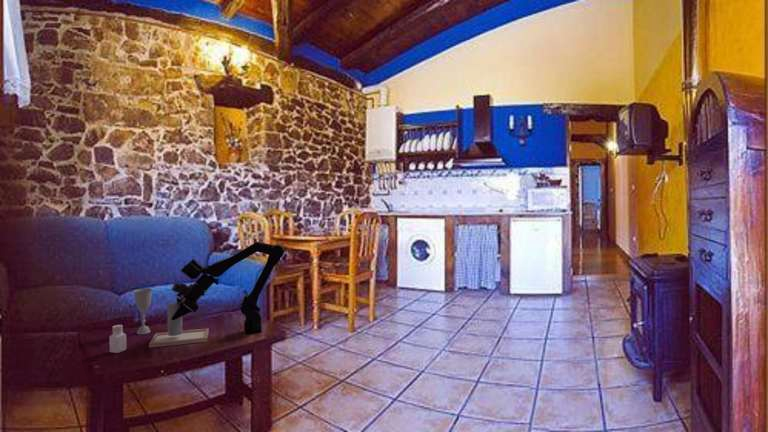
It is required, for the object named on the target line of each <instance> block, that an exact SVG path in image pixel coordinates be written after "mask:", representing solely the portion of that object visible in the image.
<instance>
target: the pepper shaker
mask: <svg viewBox="0 0 768 432" xmlns="http://www.w3.org/2000/svg"><path fill="white" fill-rule="evenodd" d="M123 326H124V325H122V324H116V325H113V326H112V334H110V336H109V339H108V340H109V352H110V353H113V354H119V353H121V352H124V351H126V350H127V334H126V333H124V331H123V330H124V328H123Z"/></svg>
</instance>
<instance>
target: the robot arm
mask: <svg viewBox="0 0 768 432" xmlns="http://www.w3.org/2000/svg"><path fill="white" fill-rule="evenodd" d="M256 253H261V254H265V255H268V257H267V260H266V263H265V265H264V266H263V269H262V270H261V272H260V274H259V276H258V278H257V280H256V281H255V283H254V286H253V288H252V290H251V292H249V293H247V292H246V293H245V294H244V297H243V299H242V300H241V302H240V304H239V305H240V312H241V314H243V315H244V316H245V320H243V327H244V329H243V330H244V332H245V334H246V335H247V334H256V333H257V334H258V333H262V331H263V330H262V315H261V311H262V309H261V308H260V307H259V306H258V305H257V304H258V301H259V297H260V294H261V292H262V290H263V289H264V287H265V285H266V283H267V281H268V279H269V278H270V276H271V273H272V272H273V269H274V268H275V266H276V265H277V264H278V263H279V262H280V260H281V259H282V257H283V256H284V254H285V249H284V246H283V245H282V244H280V243H277V244H271V243H266V242H265V243H264V242H261V241H255V242H254V243H252V244H250V245H249V246H247V247H245V248H244V249H242V250H239V251H238V252H236V253H234V254H233V255H231V256H230V257H227V258H223V259H220V260H218V261H214V262H213V263H212V264H210V265H206V266H202V265H201V264H200V263H199V262H198V261H197V260H196V259H194V258H192V259H191V260H190V261H189V262H188V263H187V264H185V265H184V266H183V268H182V269H180V272H181V273H182V274H184V275H185V276H186V277H187V278H188V279H190V280H195V282H194V283H191V284H190V285H187V283H183V282H181V283H180V282H177V281H174V284H173V285H172V288H171V290H172V292H174V293H176V294H175V296H176V298H175V299H176V300H175V301H176V302H179V303H180V306H179V308H178V309H177V311H176V312H175V314H174V315H173V316H172V318H171V319H172V320H175V319H177V318H179V317H181V316H182V317H183V316H186V315H188V314H190V313H192V312H193V313H196V312H197V311H198V310H199V309H200V308H199V304H198V301H199V300H200V298H201V297H204V296H205V295H206V292H207V291H208V290H209V289H210V288H211V287H212V286H213V285H214V284H215V285H216V286H219V280H220V278H218V277H221V276H223V274H225V273H226V272H227V271H228V270H230V268H232V267H233V266H234V265H236V264H238V263H240V262H242V261H243V260H246V259H247V258H248V257H250V256H252V255H253V254H256ZM201 274H202V275H201ZM208 275H209V276H208Z"/></svg>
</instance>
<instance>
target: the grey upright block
mask: <svg viewBox="0 0 768 432" xmlns="http://www.w3.org/2000/svg"><path fill="white" fill-rule="evenodd" d="M166 306H167V308H166V311H167V332H168V335H169V336H176V335H180V334H182V333H183V331H184V330H183V316H181V317H179V318H177V319H175V320H172V319H171V318H172V316H173V315H174V314H175V312H176V311H177V309H178V308H179V306H180V303H179V302H177V301H176V302H170V303H167V305H166Z"/></svg>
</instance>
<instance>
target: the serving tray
mask: <svg viewBox="0 0 768 432" xmlns="http://www.w3.org/2000/svg"><path fill="white" fill-rule="evenodd" d="M209 332H210V328H209V327H207V328H200V329H199V328H198V329H187V330H183V333H182V334H180V335H176V336H169V335H168V331H166V332H156V333H155V334H154V335H153V337H152V338H151V339H150V341H149V343H148V348H158V347H159V348H161V347H166V346H167V347H168V346H169V347H170V346H177V345H178V346H179V345H188V344H189V345H190V344H196V343H197V344H198V343H206V342H207V341H208V337H209Z"/></svg>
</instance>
